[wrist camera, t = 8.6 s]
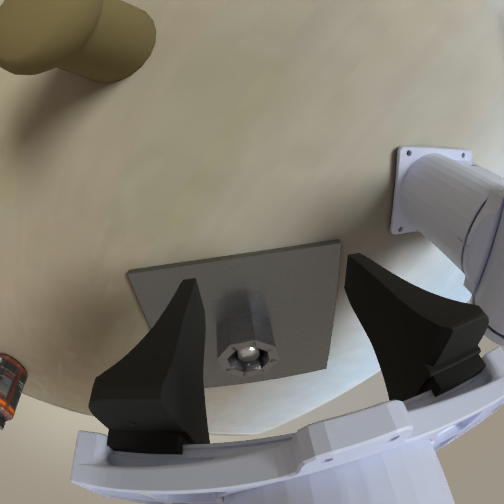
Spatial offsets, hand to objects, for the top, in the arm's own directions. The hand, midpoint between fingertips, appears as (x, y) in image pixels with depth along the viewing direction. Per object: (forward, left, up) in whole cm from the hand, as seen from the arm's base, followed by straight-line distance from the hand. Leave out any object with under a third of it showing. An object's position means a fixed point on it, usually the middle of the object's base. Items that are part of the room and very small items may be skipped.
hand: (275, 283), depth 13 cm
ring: (+2, +13, -9) cm, 15 cm away
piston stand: (+2, +13, -9) cm, 16 cm away
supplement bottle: (+39, +18, -10) cm, 44 cm away
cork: (+8, -14, -10) cm, 19 cm away
